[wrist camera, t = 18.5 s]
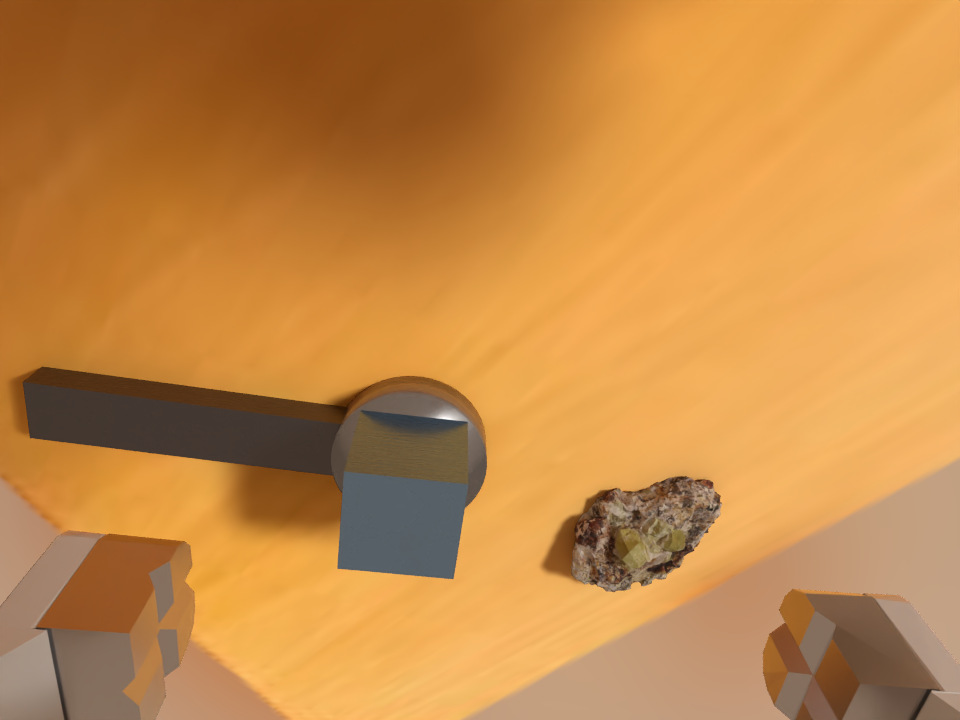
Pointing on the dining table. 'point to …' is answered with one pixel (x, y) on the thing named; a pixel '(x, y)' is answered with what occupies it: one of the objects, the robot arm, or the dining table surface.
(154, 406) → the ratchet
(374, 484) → the slate grey cube
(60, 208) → the dining table surface
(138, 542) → the robot arm
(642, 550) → the mineral rock
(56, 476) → the dining table surface
